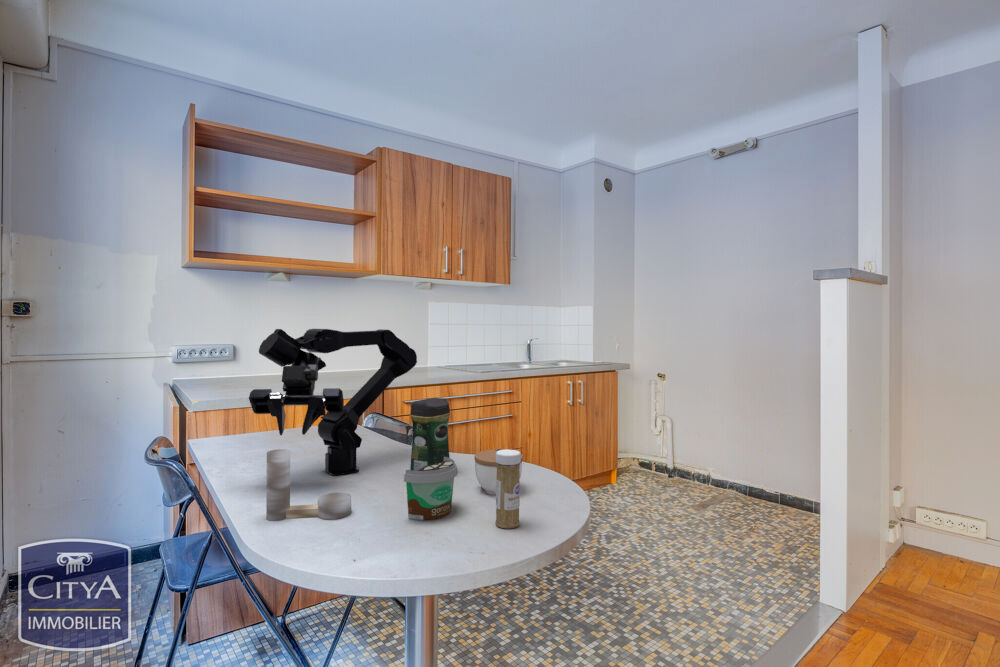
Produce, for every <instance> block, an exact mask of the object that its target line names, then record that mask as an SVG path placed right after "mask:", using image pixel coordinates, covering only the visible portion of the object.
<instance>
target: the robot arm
mask: <svg viewBox="0 0 1000 667" xmlns="http://www.w3.org/2000/svg"><path fill="white" fill-rule="evenodd" d="M375 345H376V346H377V347H378V349H379V352H380V354H381V355H382V356H383V358H382V360H381V363H380V367H379V369H378V370H377V371H376V372H375V373H374V374H373V375H372V376H371V377H370V378H369V379H368V380H367V382H365V383H364V384H363V386H362V387H361V388H360V389H359V390H358V391H357V392H356V393H355V394H353V396H352V397H351V398H350V399H349V401H347V402H346V403H345V400H344V393H343V390H342V389H341V388H338V387H337V388H330V387H329V388H323V389H322V395H321V394H320V395H319V394H318V395H316V394H315V395H314V392H315V388H316V382H317V381H318V378H319V371H320V370H322V369H323V368H325V367H327V364H326V362H325V361H324V360H322V357H318V355H316V354H329V353H332V352H337V351H340V350H342V349H345V348H349V347H361V346H362V347H364V346H365V347H366V346H375ZM305 350H306V351H305ZM258 353H259V355H262V356H263V357H264V358H266V359H268V360H270V361H271V362H273V363H275V364H277V365H278V366H280V367H281V368H282V374H281V382H282V383H283V384H282V391H283V392H284V394H282V393H281V392H273V390H272V388H254V389H252V390H251V391H250V392H249V396H248V401H249V404H250V407H251V409H252V413H253V414H256V415H270V416H271V417H275V418H276V422H277V427H278V433H279V436H283V434H284V431H285V422H286V415H287V414H286V411H285V407H287V406H289V407H290V406H291V407H292V406H295V407H296V406H307V409H306V413H305V416H304V420H303V424H302V429H301V430H302V431H301V435H303V436H305V435H306V434H307V432H308V431H309V430H310V428H311V427H312V425H314V423H316V421H318V419H319V418H320V422H318V425H317V434H318V436H319V437H320V438H321V440H322V441H323V444H324V445H323V446H327V452H326V453H325V454H324V456H325V457H324V459H325V460H324V470H325V471H326V472H327V473H328V474H330V475H331V476H334V477H335V476H340V475H346V474H348V475H349V474H352V473H358V472H359V471H360V469H359V468H358V467H357V449H359V448H361V445H362V441H363V440H362V439H363V438H361V437H360V436H359V435H358V433H357V432H355V431H357V428H358V426H359V420H360V418H361V417H362V416H363V414H364V413H366V411H367V410H368V409H369V408H370V407H371V405H373V403H374V402H375V401H376V400H377V399H378V398H379V397H380V396H381V395H382V394H383V393H384V391H385V390H386V389H387V388H388V387H389V386H390V385H391V384H392V383H393V382H394V380H395V379H397V378H399V377H402V376H403V375H405V374H407V373H408V372H410V371H411V370H412V369H413V368H414V367H415V366H417V363H418V360H417V359H418V356H417V353H416V351H415V349H413V348H411V347H410V346H409V345H408V344H407V343H406V342H405V341H403V340H402V339H400V338H399V337H397V335H396V334H395V333H394V332H393V331H392V330H390V329H379V328H378V329H376V330H360V331H358V330H357V331H354V330H353V331H340V330H335V329H330V328H329V329H328V328H309V329H307V330H306V331H305V332H304V333H303V335H302V336H299V337H297V338H294V337H292V336H290V335H289V334H288V333H287V332H286V331H285V330H283V329H282V328H275V330H274V331H273V333H271V334H269V335H268V336H267V337H266V338H265V339H263V340H262V342H261V344H260V345H259V348H258ZM314 353H316V354H314Z"/></svg>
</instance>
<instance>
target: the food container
mask: <svg viewBox="0 0 1000 667" xmlns="http://www.w3.org/2000/svg"><path fill="white" fill-rule="evenodd" d="M458 473H459V472H458V467H457V463H456V461H455V460H454V459H453V458H448V457H444V461H443V462H440V463H438V464H434V465H427V466H425V467H423V468H421V469H419V470H417V471H412V470H410V469H405V473H404V476H403V482H405V483H406V486H405V487H406V499H407V511H408V512H407V513H408V517H407V518H408V519H409V520H413V521H421V522H422V521H423V522H424V521H435V520H439V519H440V520H441V519H443V518H446V517H448V516H449V515H450V514H451V512H452V504H453V493H454V483H455V477H457V476H458Z"/></svg>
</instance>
